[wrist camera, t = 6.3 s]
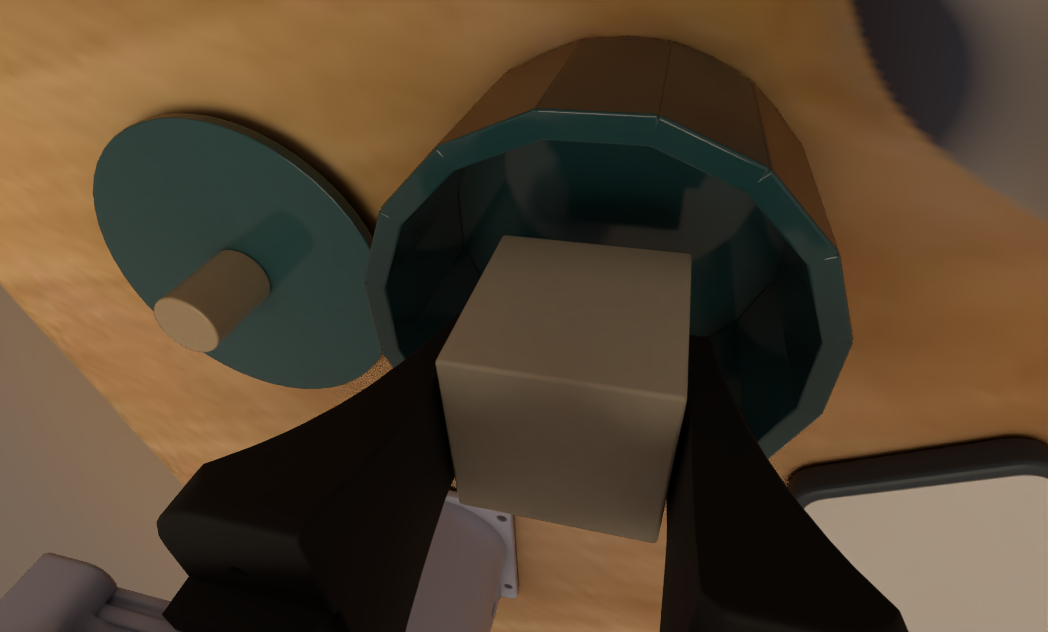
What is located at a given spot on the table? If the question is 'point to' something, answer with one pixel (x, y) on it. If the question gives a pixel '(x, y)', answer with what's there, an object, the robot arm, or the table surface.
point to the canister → (633, 212)
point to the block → (570, 384)
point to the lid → (239, 249)
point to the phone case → (944, 531)
